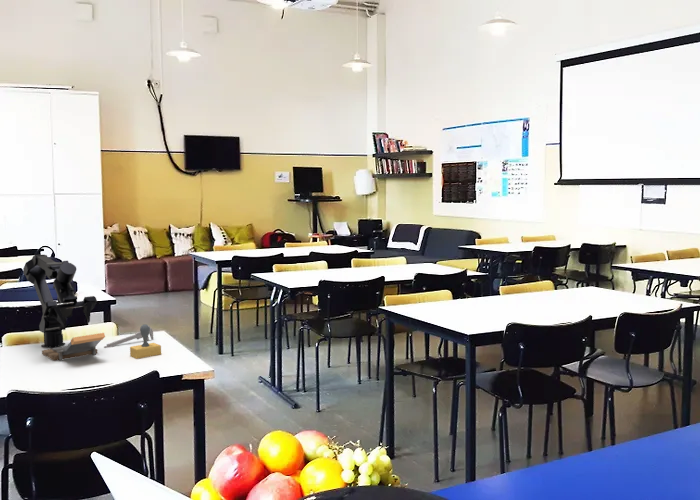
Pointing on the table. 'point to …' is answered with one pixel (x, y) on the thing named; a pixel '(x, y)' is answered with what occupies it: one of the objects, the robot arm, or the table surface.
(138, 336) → the caliper
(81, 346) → the gray slab
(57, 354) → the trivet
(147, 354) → the rubber stamp
